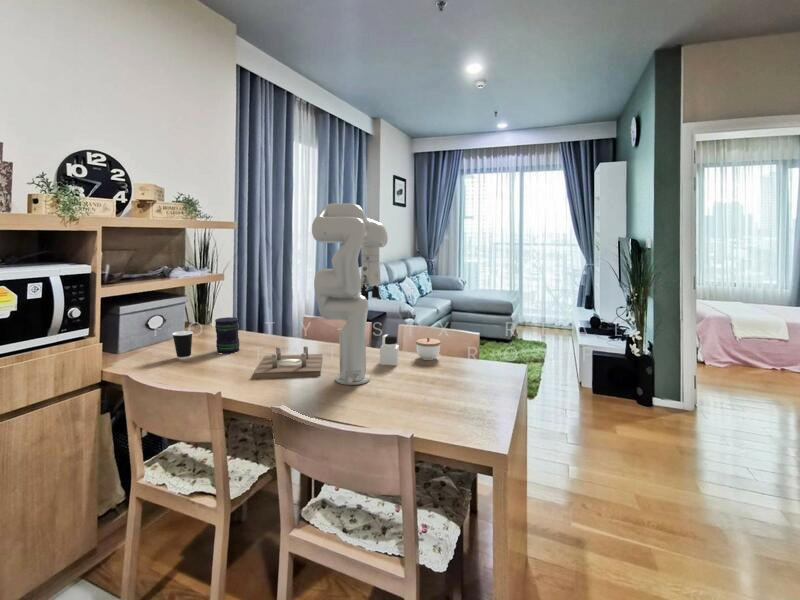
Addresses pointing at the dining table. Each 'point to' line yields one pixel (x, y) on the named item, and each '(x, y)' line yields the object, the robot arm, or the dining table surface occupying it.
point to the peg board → (289, 365)
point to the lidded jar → (428, 348)
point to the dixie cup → (183, 343)
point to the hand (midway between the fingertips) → (370, 298)
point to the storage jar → (227, 335)
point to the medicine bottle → (389, 350)
